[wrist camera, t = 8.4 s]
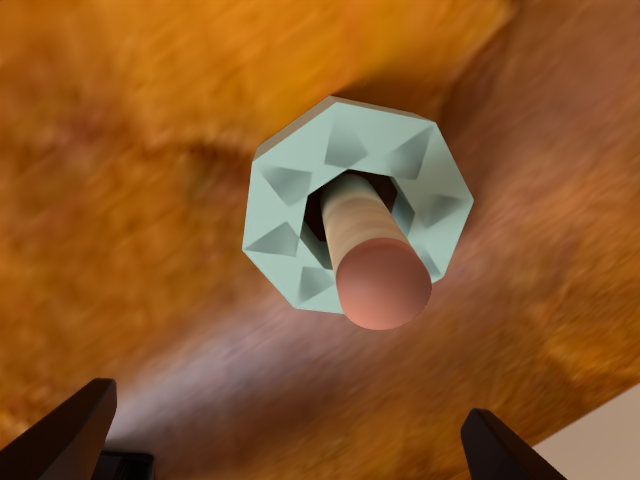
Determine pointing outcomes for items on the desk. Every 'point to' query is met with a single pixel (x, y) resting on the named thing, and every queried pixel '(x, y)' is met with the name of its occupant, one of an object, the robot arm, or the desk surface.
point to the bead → (329, 161)
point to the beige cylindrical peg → (371, 256)
